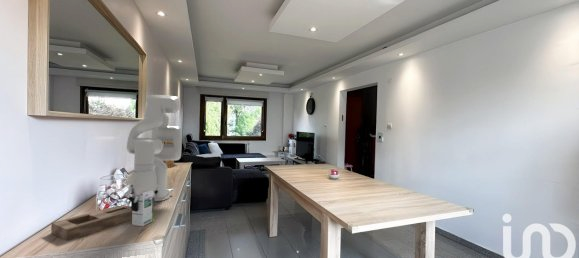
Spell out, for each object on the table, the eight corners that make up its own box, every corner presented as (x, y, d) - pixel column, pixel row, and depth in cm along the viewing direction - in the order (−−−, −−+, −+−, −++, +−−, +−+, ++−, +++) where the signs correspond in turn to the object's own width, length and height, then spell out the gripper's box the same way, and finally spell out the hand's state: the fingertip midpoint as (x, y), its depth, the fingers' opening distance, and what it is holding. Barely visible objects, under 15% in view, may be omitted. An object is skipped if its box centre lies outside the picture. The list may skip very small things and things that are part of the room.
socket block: (51, 233, 93) (51, 223, 93) (122, 212, 116) (122, 204, 116) (67, 240, 88) (67, 229, 88) (137, 217, 111) (138, 208, 111)
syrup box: (143, 226, 102) (144, 192, 102) (131, 224, 103) (132, 191, 103) (153, 221, 107) (154, 189, 107) (141, 219, 109) (143, 188, 108)
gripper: (156, 164, 114) (155, 201, 115) (117, 169, 99) (116, 212, 99) (167, 166, 111) (166, 204, 111) (129, 171, 96) (127, 216, 96)
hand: (143, 208), depth 105 cm, fingers closed on syrup box, 6 cm apart
